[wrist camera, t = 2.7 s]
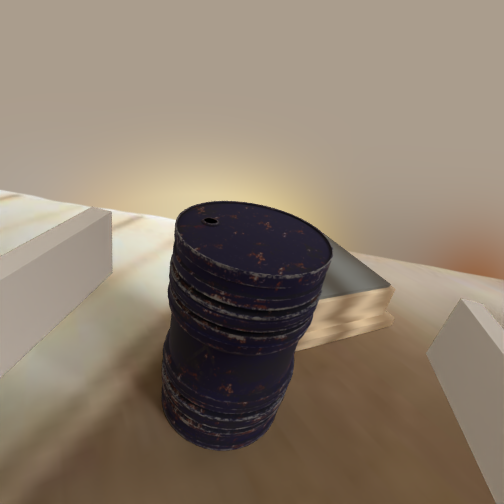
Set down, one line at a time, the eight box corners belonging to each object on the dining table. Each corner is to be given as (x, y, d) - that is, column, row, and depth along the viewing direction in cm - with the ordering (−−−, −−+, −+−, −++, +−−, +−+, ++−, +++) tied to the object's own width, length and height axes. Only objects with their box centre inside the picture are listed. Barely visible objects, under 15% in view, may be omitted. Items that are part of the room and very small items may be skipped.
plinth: (314, 258, 50) (324, 227, 48) (391, 325, 39) (409, 290, 36) (221, 267, 43) (227, 232, 40) (281, 355, 31) (294, 313, 28)
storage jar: (282, 360, 31) (329, 220, 23) (275, 467, 22) (346, 296, 15) (182, 336, 31) (199, 190, 24) (137, 432, 22) (142, 248, 15)
